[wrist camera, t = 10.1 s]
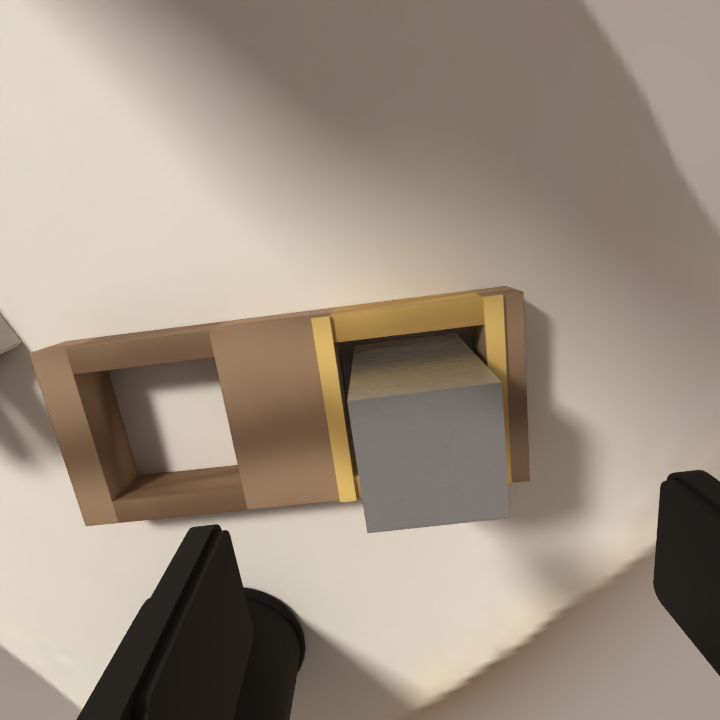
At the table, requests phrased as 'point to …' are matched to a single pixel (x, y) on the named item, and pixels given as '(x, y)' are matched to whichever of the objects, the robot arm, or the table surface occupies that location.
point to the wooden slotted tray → (263, 403)
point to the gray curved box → (7, 337)
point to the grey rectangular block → (427, 434)
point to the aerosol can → (270, 660)
